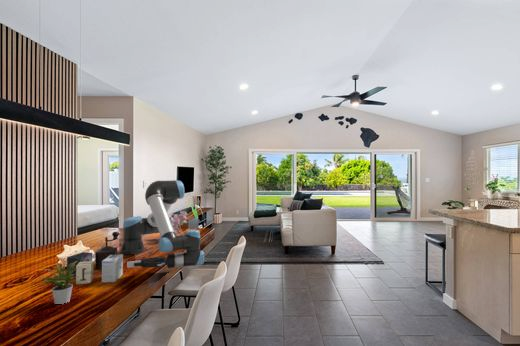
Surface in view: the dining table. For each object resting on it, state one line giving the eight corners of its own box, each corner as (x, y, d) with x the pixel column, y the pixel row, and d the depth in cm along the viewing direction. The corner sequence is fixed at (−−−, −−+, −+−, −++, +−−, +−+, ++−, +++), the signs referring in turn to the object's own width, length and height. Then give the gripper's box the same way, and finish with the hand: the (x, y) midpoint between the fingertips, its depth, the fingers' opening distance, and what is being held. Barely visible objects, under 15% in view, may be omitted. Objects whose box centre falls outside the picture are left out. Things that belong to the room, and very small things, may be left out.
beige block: (79, 280, 143) (79, 262, 143) (93, 278, 145) (93, 260, 145) (76, 284, 137) (76, 265, 137) (90, 283, 139) (90, 264, 139)
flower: (173, 233, 249) (163, 209, 240) (196, 232, 242) (186, 207, 233) (161, 248, 232) (149, 222, 222) (185, 247, 225) (174, 221, 215)
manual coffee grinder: (116, 267, 162) (117, 235, 162) (94, 269, 158) (94, 237, 158) (119, 259, 177) (119, 230, 177) (99, 261, 172) (99, 232, 173)
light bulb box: (109, 275, 150) (109, 254, 150) (123, 274, 151) (123, 254, 151) (101, 282, 139) (101, 260, 139) (115, 282, 140) (116, 260, 140)
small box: (76, 278, 145) (76, 257, 145) (65, 277, 146) (66, 257, 146) (92, 271, 155) (92, 252, 155) (82, 270, 156) (82, 251, 156)
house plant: (59, 293, 126) (59, 256, 126) (90, 293, 126) (90, 256, 126) (32, 308, 112) (33, 266, 112) (67, 309, 112) (67, 267, 112)
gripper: (175, 270, 149) (125, 276, 141) (174, 263, 161) (128, 268, 153) (175, 256, 149) (125, 260, 141) (174, 250, 161) (128, 254, 153)
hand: (127, 264), depth 147 cm, fingers closed
